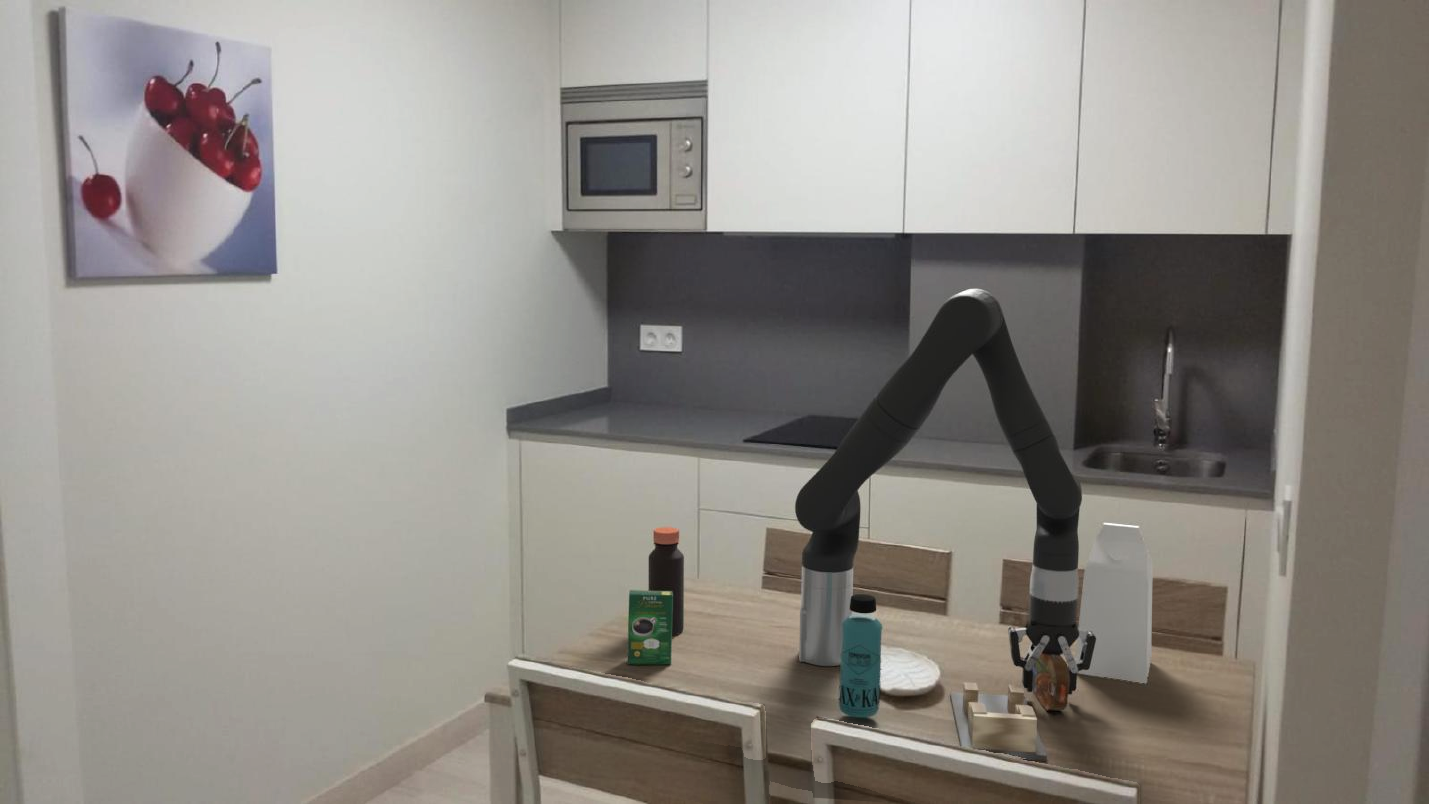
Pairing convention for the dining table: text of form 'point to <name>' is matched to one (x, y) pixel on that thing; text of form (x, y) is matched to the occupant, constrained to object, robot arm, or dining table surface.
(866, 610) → the beverage bottle
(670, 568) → the vinegar
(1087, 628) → the milk
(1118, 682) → the dining table surface
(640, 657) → the coffee box
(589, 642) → the dining table surface
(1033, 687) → the tin
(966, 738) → the clip
